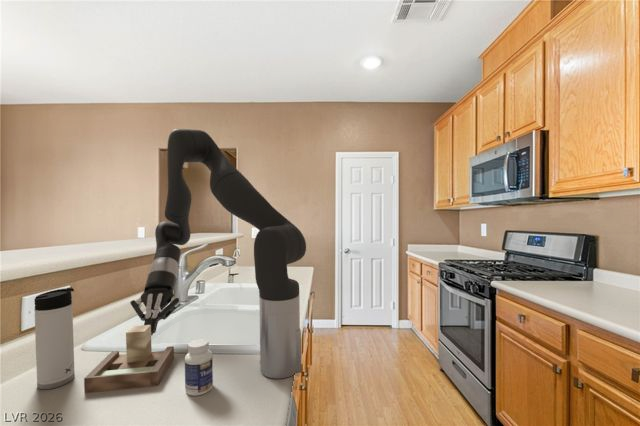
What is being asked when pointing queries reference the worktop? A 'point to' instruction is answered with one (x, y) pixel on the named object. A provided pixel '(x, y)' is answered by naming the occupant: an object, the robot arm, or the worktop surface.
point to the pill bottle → (198, 368)
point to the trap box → (128, 371)
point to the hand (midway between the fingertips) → (148, 334)
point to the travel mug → (54, 338)
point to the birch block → (138, 343)
